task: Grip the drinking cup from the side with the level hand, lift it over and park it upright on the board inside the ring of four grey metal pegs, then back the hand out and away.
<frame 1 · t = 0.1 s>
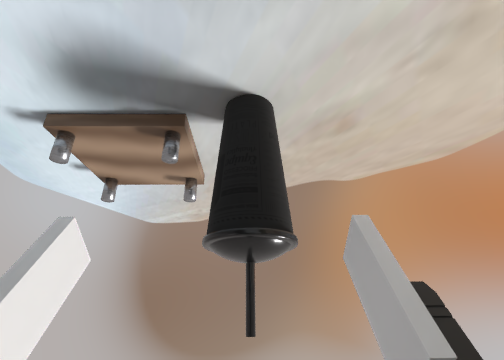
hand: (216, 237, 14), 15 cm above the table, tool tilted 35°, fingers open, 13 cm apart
drinking cup: (249, 109, 29), on the table
peg board: (140, 150, 35), on the table
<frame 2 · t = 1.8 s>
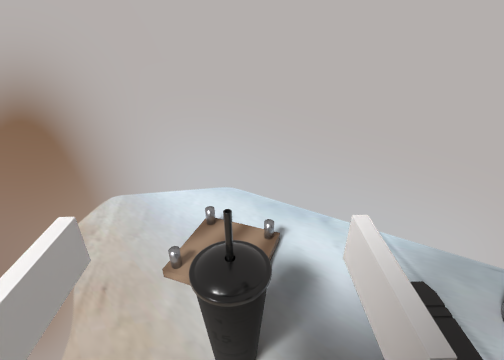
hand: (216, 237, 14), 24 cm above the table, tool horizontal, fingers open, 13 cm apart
drinking cup: (235, 352, 33), on the table
peg board: (226, 256, 47), on the table
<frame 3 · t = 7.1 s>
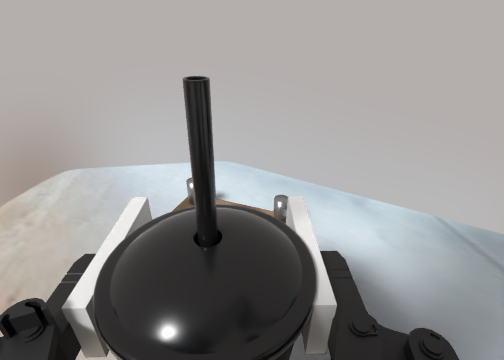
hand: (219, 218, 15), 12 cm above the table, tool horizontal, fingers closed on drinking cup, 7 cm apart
peg board: (215, 250, 30), on the table
when the fingers open (14 cm above the table, at t = 13.4 s): drinking cup stays where it is, resting on peg board.
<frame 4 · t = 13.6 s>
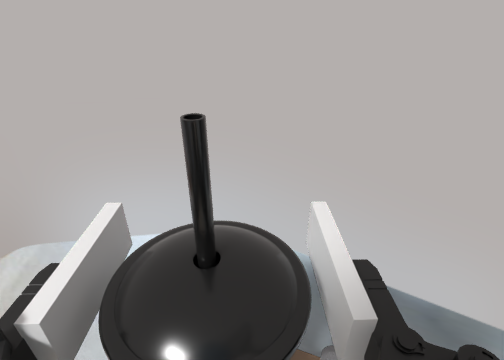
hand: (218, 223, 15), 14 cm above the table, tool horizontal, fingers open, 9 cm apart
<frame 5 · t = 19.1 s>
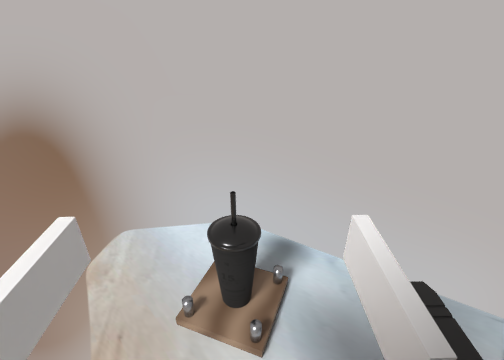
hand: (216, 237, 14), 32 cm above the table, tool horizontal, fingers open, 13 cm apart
drinking cup: (236, 296, 47), point 1 cm above the table, touching peg board
peg board: (236, 302, 48), on the table
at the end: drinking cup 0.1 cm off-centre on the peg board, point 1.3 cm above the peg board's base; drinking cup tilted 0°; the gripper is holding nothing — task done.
